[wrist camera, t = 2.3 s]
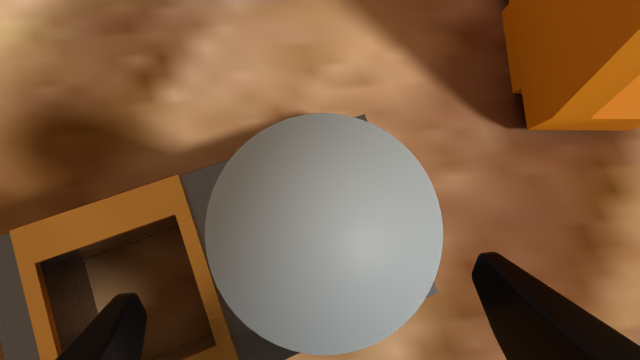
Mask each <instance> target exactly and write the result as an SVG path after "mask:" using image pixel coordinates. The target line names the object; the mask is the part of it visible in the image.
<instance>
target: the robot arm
mask: <svg viewBox="0 0 640 360" xmlns="http://www.w3.org/2000/svg"><path fill="white" fill-rule="evenodd" d="M472 280H473V283H474V285H475V288H476V290H477V293H478V296H479V298H480V301H481V303H482V306H483V308H484V311H485V313H486V316H487V318H488V321H489V324H490V326H491V328H492V331H493V333H494V335H495V337H496V339H497V341H498V343H499V345H500V347H501V349H502V351H503V353H504V355H505V357H506V359H507V360H640V346H639V345H637V344H636V343H634V342H633V341H631V340H630V339H628V338H627V337H625V336H624V335H622V334H621V333H619V332H618V331H616V330H615V329H613V328H611V327H610V326H608V325H607V324H605V323H604V322H602V321H601V320H599V319H598V318H596V317H595V316H593V315H592V314H590V313H589V312H587V311H585V310H584V309H582V308H581V307H579V306H578V305H576V304H575V303H573V302H572V301H570V300H569V299H567V298H566V297H564V296H563V295H561V294H559V293H558V292H556V291H555V290H553V289H552V288H550V287H549V286H547V285H546V284H544V283H543V282H541V281H540V280H538V279H537V278H535V277H533V276H532V275H530V274H529V273H527V272H526V271H524V270H523V269H521V268H520V267H518V266H517V265H515V264H514V263H512V262H511V261H509V260H507V259H506V258H504V257H503V256H501V255H500V254H498V253H496V252H486V253H481V254H480V255H479V256H478V258H477V261H476V263H475V266H474V268H473V271H472ZM146 321H147V315H146V311H145V309H144V307H143V305H142V303H141V301H140V299H139V297H138V295H137V294H136V293H123V294H118V295H117V296H115V297H114V298H113V299H112V300H111V301H110V302H109V303H108V304H107V305H106V306H105V307H104V308H103V310H102V311H101V312H100V313H99V314H98V315H97V316H96V317H95V318H94V319H93V320H92V321H91V322H90V323H89V324H88V325H87V326H86V327H85V329H84V330H83V331H82V332H81V333H80V334H79V335H78V336H77V337H76V338H75V339H74V340H73V341H72V342H71V343H70V344H69V345H68V346H67V348H66V349H65V350H64V351H63V352H62V353H61V354H60V355H59V356H58V357H57V358H56V359H55V360H141V355H142V348H143V341H144V335H145V328H146Z"/></svg>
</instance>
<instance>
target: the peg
mask: <svg viewBox="0 0 640 360" xmlns="http://www.w3.org/2000/svg"><path fill="white" fill-rule="evenodd" d="M205 244H206V253H207V258H208V262H209V266H210V270H211V273H212V276H213V278H214V281H215V283H216V286H217V288H218V290H219V291H220V293H221V295H222V297H223V298H224V300H225V302H226V303H227V304H228V306H229V307H230V308H231V310H232V311H233V312H234V313H235V315H236V316H237V317H238V318H239V319H240V320H241V321H242V322H243V323H244V324H245V325H246V326H247V327H249V328H250V329H251V330H253V331H254V332H255V333H257V334H258V335H260V336H261V337H263V338H265V339H266V340H268V341H270V342H272V343H274V344H276V345H278V346H281V347H283V348H286V349H289V350H292V351H296V352H301V353H305V354H314V355H336V354H344V353H349V352H353V351H358V350H361V349H363V348H366V347H369V346H371V345H374V344H376V343H377V342H379V341H381V340H383V339H385V338H387V337H388V336H390V335H391V334H392V333H394V332H395V331H396V330H398V329H399V328H400V327H402V326H403V325H404V324H405V323H406V322H407V321H408V320H409V319H410V318H411V317H412V316H413V314H414V313H415V312H416V311H417V309H418V308H419V307H420V306H421V304H422V303H423V301H424V299H425V298H426V296H427V294H428V293H429V291H430V289H431V287H432V284H433V282H434V280H435V277H436V274H437V271H438V267H439V264H440V260H441V253H442V246H443V225H442V216H441V211H440V206H439V202H438V199H437V196H436V193H435V190H434V188H433V185H432V183H431V181H430V179H429V177H428V175H427V173H426V172H425V170H424V169H423V167H422V166H421V164H420V163H419V161H418V160H417V159H416V158H415V156H414V155H413V154H412V153H411V152H410V151H409V149H407V148H406V147H405V146H404V145H403V144H402V143H401V142H400V141H399V140H398V139H396V138H395V137H393V136H392V135H391V134H389V133H388V132H386V131H385V130H383V129H381V128H379V127H377V126H375V125H374V124H371V123H369V122H366V121H364V120H361V119H358V118H354V117H350V116H347V115H340V114H332V113H314V114H306V115H300V116H296V117H292V118H288V119H285V120H283V121H280V122H278V123H275V124H273V125H271V126H269V127H267V128H265V129H264V130H262V131H260V132H259V133H257V134H256V135H255V136H253V137H252V138H250V139H249V140H248V141H247V142H246V143H245V144H244V145H242V146H241V147H240V148H239V149H238V150H237V151H236V153H235V154H234V155H233V156H232V157H231V159H230V160H229V161H228V162H227V164H226V165H225V167H224V169H223V170H222V172H221V174H220V175H219V177H218V179H217V182H216V184H215V186H214V188H213V190H212V194H211V197H210V200H209V204H208V208H207V214H206V221H205Z"/></svg>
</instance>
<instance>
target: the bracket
mask: <svg viewBox="0 0 640 360" xmlns="http://www.w3.org/2000/svg"><path fill="white" fill-rule="evenodd" d="M501 13H502V20H503V27H504V34H505V41H506V49H507V56H508V63H509V70H510V77H511V84H512V92H513V94H522V97H523V104H524V110H525V117H526V124H527V130H623V131H625V130H631V129H634V128H637V127H640V0H509V4H508V5H507V6H506V8H505V9H504V10H503V11H502V12H501Z"/></svg>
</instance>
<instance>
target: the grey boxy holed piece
mask: <svg viewBox="0 0 640 360" xmlns="http://www.w3.org/2000/svg"><path fill="white" fill-rule="evenodd" d="M355 118H358V119H361V120H364V121H366V122H367V119H366V117H365V114H364V115H361V116H358V117H355ZM229 160H230V159H229ZM229 160H226V161H223V162H220V163H217V164H214V165H211V166H208V167H205V168H202V169H199V170H196V171H193V172H190V173H187V174H184V175H181V176H180V175H175V176H172V177H169V178H166V179H163V180H160V181H157V182H154V183H151V184H148V185H145V186H142V187H139V188H136V189H133V190H130V191H127V192H124V193H121V194H118V195H115V196H112V197H109V198H106V199H103V200H100V201H97V202H94V203H91V204H88V205H85V206H82V207H79V208H76V209H73V210H70V211H67V212H64V213H61V214H58V215H55V216H52V217H49V218H46V219H43V220H40V221H37V222H34V223H31V224H28V225H25V226H22V227H19V228H16V229H13V230H10V231H9V232H10V233H7V234H4V235H1V236H0V343H1V348H2V352H3V356H4V360H55V359H56V358H57V357H58V356H59V355H60V354H61V353H62V352H63V351H64V350H65V349H66V348H67V346H68V345H69V344H70V343H71V342H72V341H73V340H74V339H75V338H76V337H77V336H78V335H79V334H80V333H81V332H82V331H83V330H84V329H85V327H86V326H87V325H88V324H89V323H90V322H91V321H92V320H93V319H94V318H95V317H96V316H97V315H98V312H97V308H96V305H95V301H94V297H93V294H92V290H91V286H90V283H89V279H88V275H87V271H86V268H85V264H84V259H86V258H89V257H92V256H95V255H98V254H100V253H103V252H106V251H109V250H112V249H114V248H117V247H120V246H123V245H126V244H129V243H131V242H134V241H137V240H140V239H143V238H145V237H148V236H151V235H154V234H157V233H159V232H162V231H165V230H168V229H171V228H173V227H176V226H179V228H180V231H181V234H182V238H183V241H184V244H185V247H186V250H187V253H188V257H189V260H190V263H191V266H192V269H193V272H194V276H195V279H196V282H197V285H198V288H199V292H200V295H201V298H202V301H203V304H204V307H205V311H206V314H207V317H208V320H209V323H210V326H211V330H212V334H210V335H208V336H205V337H203V338H200V339H198V340H195V341H193V342H191V343H188V344H186V345H183V346H181V347H178V348H176V349H174V350H171V351H169V352H166V353H164V354H161V355H159V356H157V357H154V358H152V359H149V360H285V359H287V358H289V357H292V356H294V355H296V354H299V353H301V352H296V351H292V350H289V349H286V348H283V347H281V346H278V345H276V344H274V343H272V342H270V341H268V340H266V339H265V338H263V337H261V336H260V335H258V334H257V333H255V332H254V331H253V330H251V329H250V328H249V327H247V326H246V325H245V324H244V323H243V322H242V321H241V320H240V319H239V318H238V317H237V316H236V315H235V313H234V312H233V311H232V310H231V308H230V307H229V306H228V304H227V303H226V302H225V300H224V298H223V297H222V295H221V293H220V291H219V290H218V288H217V286H216V283H215V281H214V278H213V276H212V273H211V270H210V266H209V262H208V258H207V253H206V244H205V221H206V214H207V208H208V204H209V200H210V197H211V194H212V190H213V188H214V186H215V184H216V182H217V179H218V177H219V175H220V174H221V172H222V170H223V169H224V167H225V165H226V164H227V162H228V161H229ZM435 293H438V290H437V288H436V286H435V283H434V282H433V284H432V287H431V289H430V291H429V293H428V294H427V296H426V297H429V296H431V295H433V294H435Z"/></svg>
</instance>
